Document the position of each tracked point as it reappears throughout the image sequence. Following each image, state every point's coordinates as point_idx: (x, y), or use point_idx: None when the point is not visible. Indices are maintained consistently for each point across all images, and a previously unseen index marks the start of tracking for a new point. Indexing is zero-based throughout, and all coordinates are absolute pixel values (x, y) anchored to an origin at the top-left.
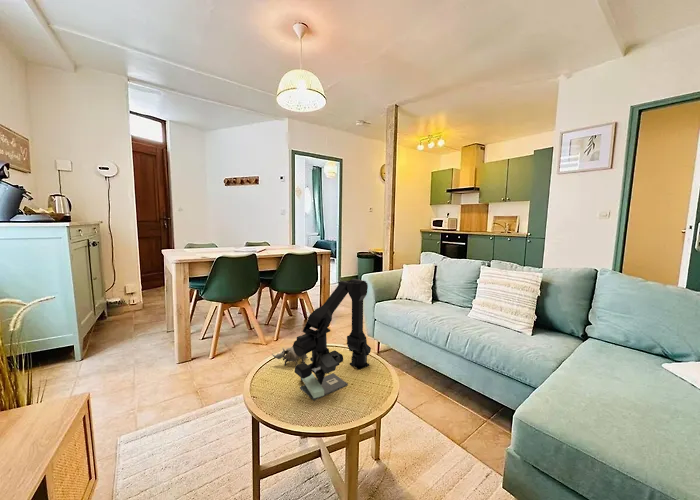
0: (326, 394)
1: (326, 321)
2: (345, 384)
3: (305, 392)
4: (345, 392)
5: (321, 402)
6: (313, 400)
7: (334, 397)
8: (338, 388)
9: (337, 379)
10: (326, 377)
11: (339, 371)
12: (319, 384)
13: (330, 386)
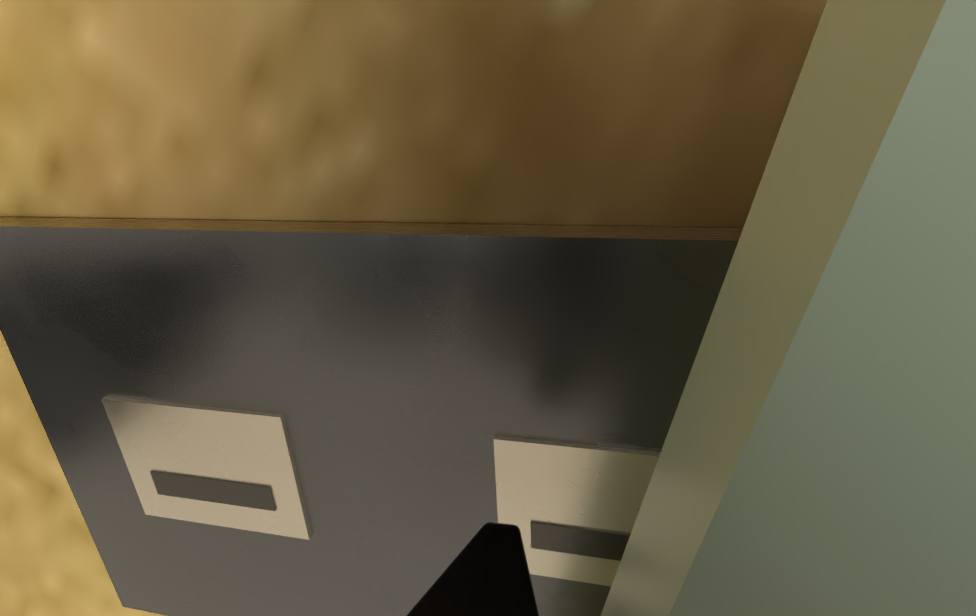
0: (512, 231)
1: None
2: (3, 236)
3: None
4: (92, 25)
5: None
6: None
7: (399, 13)
8: (179, 227)
9: (106, 453)
10: (258, 605)
11: (39, 571)
12: (745, 531)
13: (302, 384)
